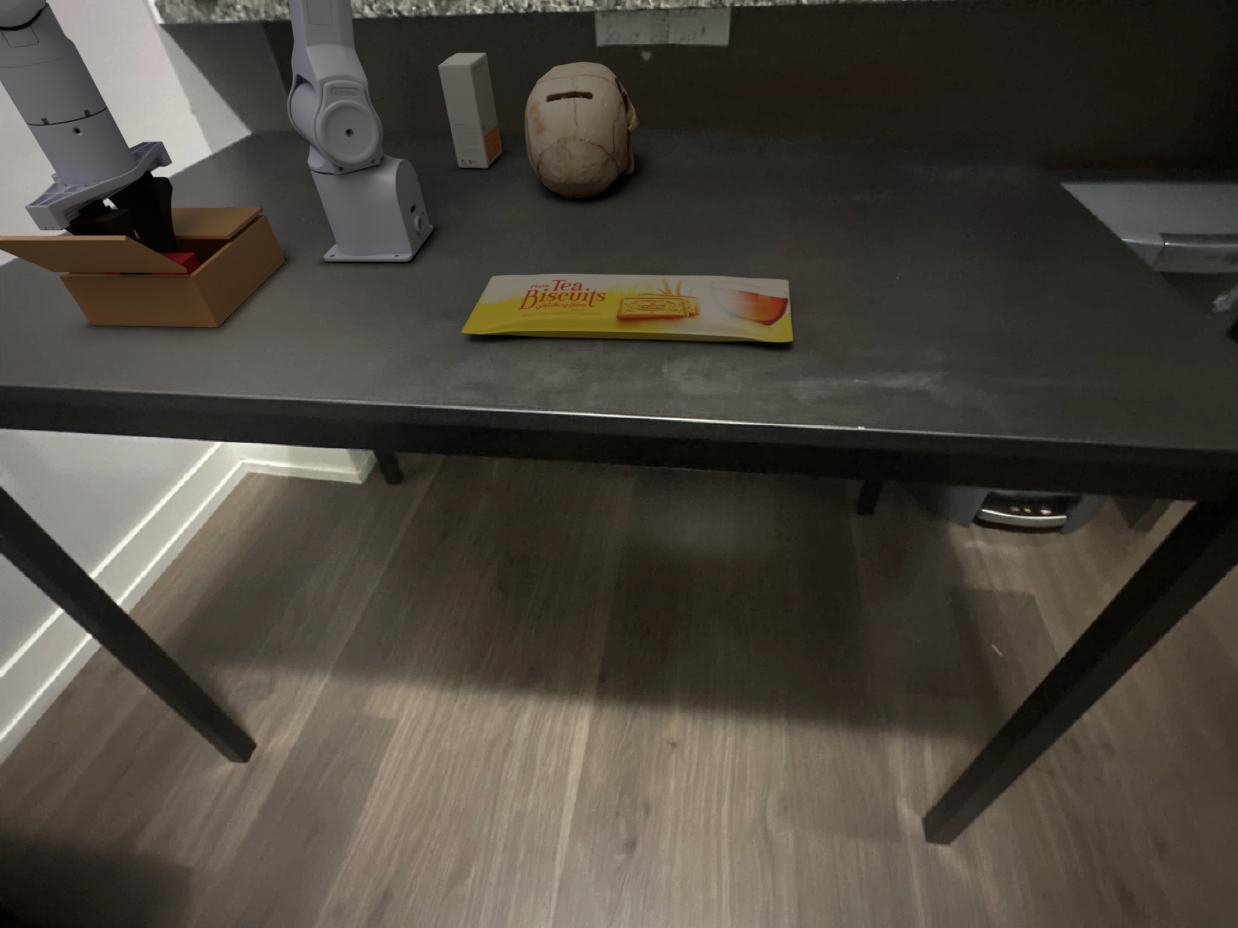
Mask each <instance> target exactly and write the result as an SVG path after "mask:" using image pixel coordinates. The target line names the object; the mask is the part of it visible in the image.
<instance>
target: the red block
mask: <svg viewBox="0 0 1238 928" xmlns="http://www.w3.org/2000/svg"><path fill="white" fill-rule="evenodd" d="M159 254H161V255H162V256H164V257H166V258H168V259H170V260H172V261H174V262H175V263H177V264H179V265H181V266H183V267H185V268H187V273H152V275H191V274H192V273H193V272H194V271H195V270H196V269H198V268H199V267H200V266H201V265H200V263H199V261H198V259H197V257H196V255H195V253H159ZM104 274H105V275H121V274H120V273H116V272H104Z"/></svg>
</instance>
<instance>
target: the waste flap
mask: <svg viewBox="0 0 1238 928" xmlns="http://www.w3.org/2000/svg"><path fill="white" fill-rule="evenodd" d="M0 251H2V252H5V253H8V254H10V255H11V256H14V257H17V258H18V259H22V260H24V261H26V262H29V263H31V264H33V265H36V266H38V267H41V268H43V269H45V270H48V271H50V272H52V273H65V272H116V273H187V268H185V267H183V266H181V265H179V264H177V263H175V262H174V261H172V260H170V259H168V258H166V257H164V256H162V255H161V254H159V253H157V252H155V251H153V250H151V249H149V248H148V247H146V246H144V245H142V244H140V243H138V242H136V241H135V240H133V239H131V238H129V237H127V236H74V235H0Z"/></svg>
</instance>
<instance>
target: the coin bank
mask: <svg viewBox="0 0 1238 928" xmlns="http://www.w3.org/2000/svg"><path fill="white" fill-rule="evenodd" d="M623 85H624V84H622V83H621V82H620V81H619V80H618V77H617V75H615V73H614V72H613V71H612V70H611V69H610V68H609V67H608V66H606V65H604V64H602V63H597V62H592V61H591V62H590V61H589V62H588V61H579V62H578V61H577V62H571V63H566V64H559V65H555V66H553V67H552V68H551V69H550V70H548V71H547V72H546V73H545V74H543V76H541V77H540V78H539V79H538V80H537V81H536V84H535V85H534V87H533V88H532V89H531V92H530V94H529V95H528V97H527V101H526V105H525V110H524V111H525V112H524V117H523V118H524V121H523V122H524V135H525V136H524V138H525V146H526V151H527V152H526V153H527V158H528V161H529V164H530V166H531V168H532V169H533V171H534V173H535V175H536V177H537V178H538V179H539V181H540V182H541V184H542V185H543V186H544V187H546V188H547V189H548V190H549V191H551V192H552V193H554V194H557V195H559V196H561V197H563V198H565V199H570V200H571V199H578V198H579V199H580V198H581V199H582V198H590V197H595V196H597V195H600V194H602V193H604V192H607V191H608V190H609V189H610V187H611V185H612V184H613V183H614V182H615V181H616V180H617V179H618V177H619V176H628V175H629V176H630V175H631V174H632V173H634V171H635V166H636V164H635V157H634V151H633V147H632V134H633V133H634V132H635V131H636V129H637V128H638V126H639V124H640V120H639V118H638V115H637V113H636V110H635V109H636V108H635V106H633V103H632V101H631V99H630V97H629V95H628V91H627V90H626V88H625V87H624V86H623Z"/></svg>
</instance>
